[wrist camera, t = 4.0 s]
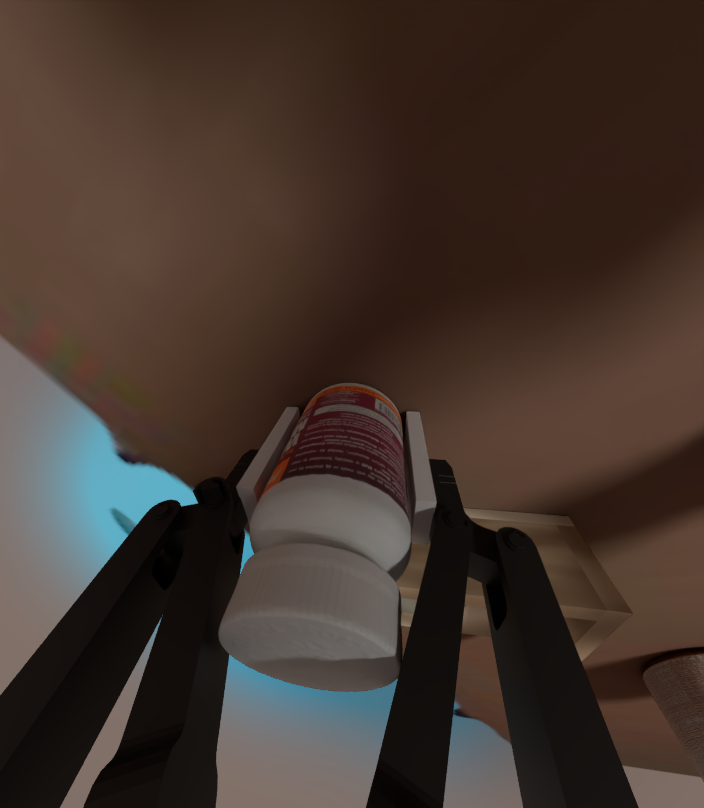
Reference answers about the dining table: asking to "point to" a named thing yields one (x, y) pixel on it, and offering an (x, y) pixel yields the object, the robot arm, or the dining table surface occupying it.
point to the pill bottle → (328, 550)
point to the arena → (567, 571)
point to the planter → (681, 698)
